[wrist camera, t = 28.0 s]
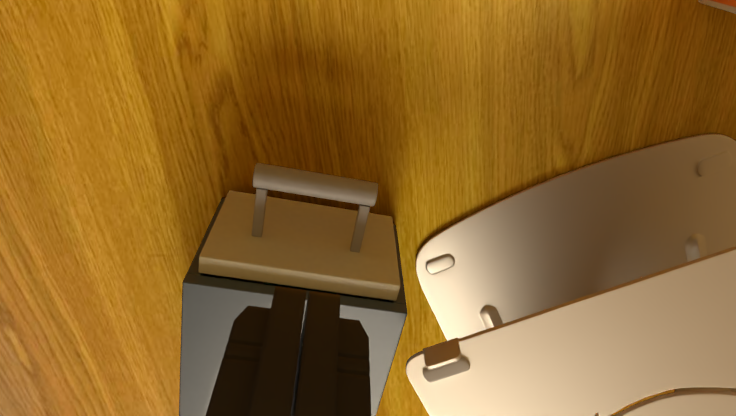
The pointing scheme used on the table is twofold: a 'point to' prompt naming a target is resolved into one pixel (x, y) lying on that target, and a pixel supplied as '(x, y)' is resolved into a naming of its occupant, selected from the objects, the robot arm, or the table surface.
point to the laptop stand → (591, 292)
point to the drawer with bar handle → (305, 236)
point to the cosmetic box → (721, 4)
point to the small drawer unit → (230, 297)
